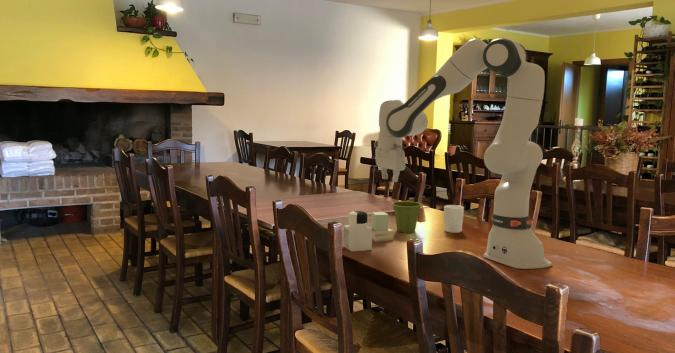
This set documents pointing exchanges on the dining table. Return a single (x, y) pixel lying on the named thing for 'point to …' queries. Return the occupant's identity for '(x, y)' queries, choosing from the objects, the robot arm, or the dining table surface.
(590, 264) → the dining table surface
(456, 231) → the white cup
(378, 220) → the sage block
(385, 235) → the beech block
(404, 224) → the plant pot
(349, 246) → the container
